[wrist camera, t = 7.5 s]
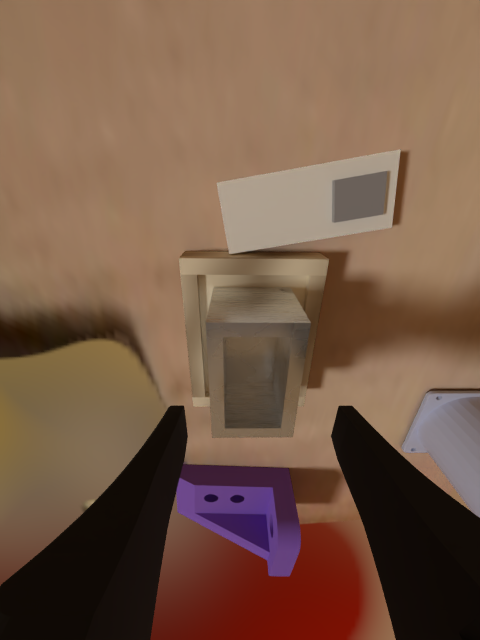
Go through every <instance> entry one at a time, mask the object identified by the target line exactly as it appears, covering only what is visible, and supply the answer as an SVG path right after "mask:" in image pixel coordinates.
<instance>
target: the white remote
mask: <svg viewBox="0 0 480 640" xmlns="http://www.w3.org/2000/svg"><path fill="white" fill-rule="evenodd" d="M400 150H401V149H400ZM400 150H394V151H389V152H383V153H378V154H372V155H367V156H361V157H356V158H350V159H345V160H339V161H334V162H328V163H323V164H317V165H312V166H306V167H301V168H295V169H290V170H284V171H278V172H273V173H267V174H262V175H256V176H251V177H245V178H240V179H234V180H229V181H223V182H218V183H217V188H218V194H219V199H220V205H221V211H222V216H223V222H224V228H225V233H226V239H227V245H228V250H229V254H234V253H240V252H246V251H252V250H259V249H265V248H271V247H277V246H283V245H289V244H295V243H301V242H307V241H313V240H319V239H326V238H332V237H338V236H344V235H350V234H356V233H362V232H368V231H374V230H380V229H386V228H392V222H393V213H394V204H395V195H396V186H397V177H398V168H399V159H400Z"/></svg>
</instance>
